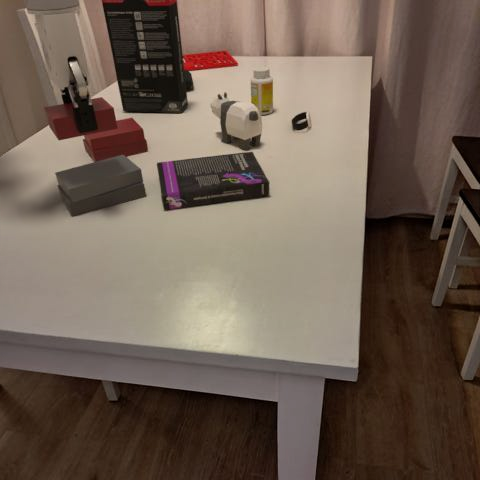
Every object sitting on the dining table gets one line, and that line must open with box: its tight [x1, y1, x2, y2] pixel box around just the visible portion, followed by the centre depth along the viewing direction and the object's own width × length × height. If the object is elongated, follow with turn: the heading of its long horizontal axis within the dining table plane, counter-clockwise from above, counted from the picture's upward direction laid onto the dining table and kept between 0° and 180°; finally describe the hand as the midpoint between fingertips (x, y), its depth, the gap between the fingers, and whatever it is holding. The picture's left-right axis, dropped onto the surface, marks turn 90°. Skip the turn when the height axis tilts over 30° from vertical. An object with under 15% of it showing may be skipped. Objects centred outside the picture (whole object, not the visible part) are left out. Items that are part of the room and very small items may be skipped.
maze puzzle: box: [182, 50, 239, 71], centre depth 164 cm, size 20×20×1 cm
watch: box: [291, 110, 312, 131], centre depth 110 cm, size 8×5×4 cm, turn 168°
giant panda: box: [209, 91, 263, 151], centre depth 103 cm, size 15×6×10 cm, turn 42°
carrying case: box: [184, 70, 194, 92], centre depth 141 cm, size 11×3×15 cm
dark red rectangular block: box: [43, 96, 118, 141], centre depth 79 cm, size 10×7×3 cm
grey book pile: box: [54, 155, 147, 217], centre depth 86 cm, size 14×10×5 cm
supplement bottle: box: [250, 66, 274, 116], centre depth 117 cm, size 6×6×10 cm
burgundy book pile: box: [82, 117, 149, 163], centre depth 103 cm, size 12×9×5 cm
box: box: [156, 151, 271, 211], centre depth 88 cm, size 14×4×20 cm
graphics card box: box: [101, 0, 189, 114], centre depth 117 cm, size 17×7×27 cm, turn 80°
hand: (82, 123), depth 79 cm, fingers closed on dark red rectangular block, 7 cm apart
